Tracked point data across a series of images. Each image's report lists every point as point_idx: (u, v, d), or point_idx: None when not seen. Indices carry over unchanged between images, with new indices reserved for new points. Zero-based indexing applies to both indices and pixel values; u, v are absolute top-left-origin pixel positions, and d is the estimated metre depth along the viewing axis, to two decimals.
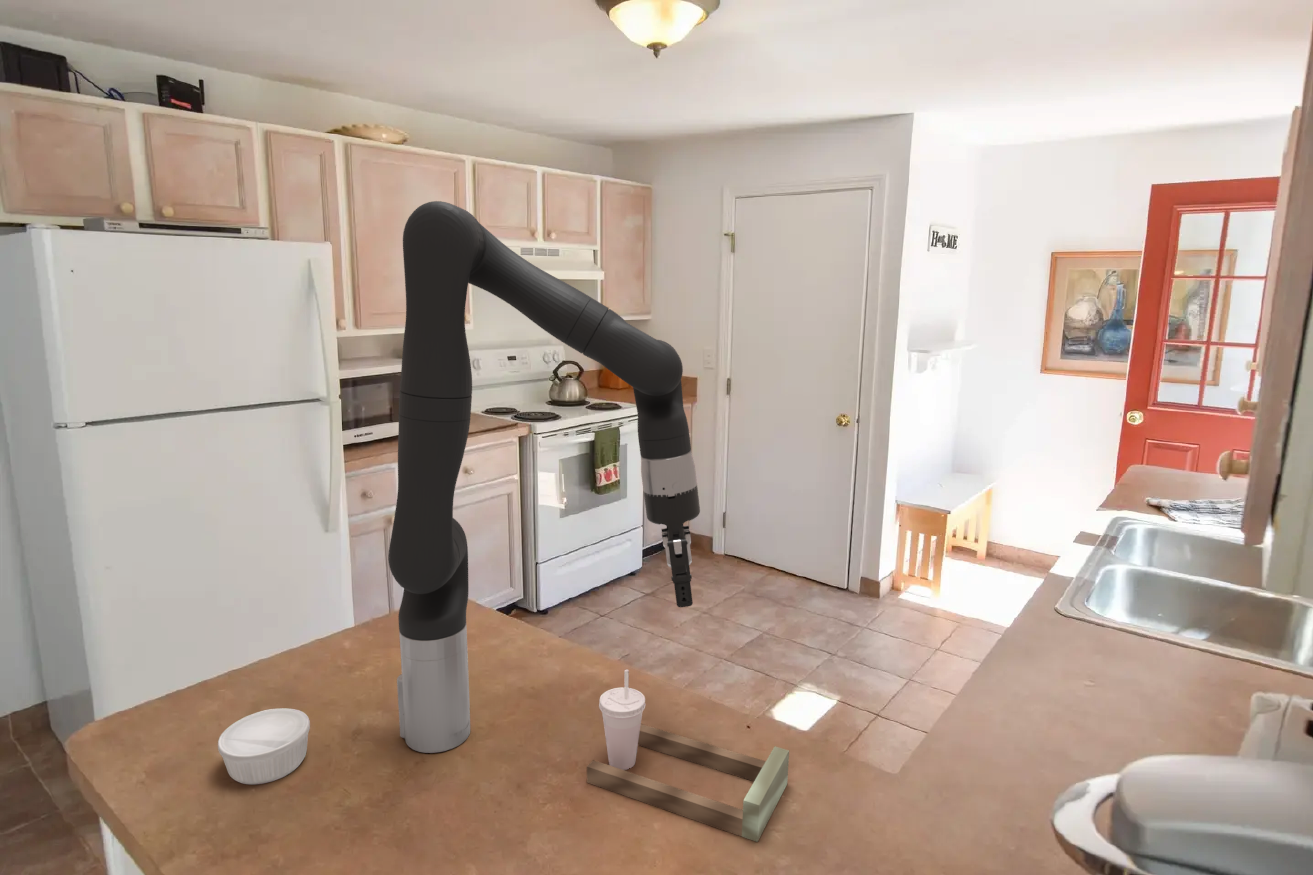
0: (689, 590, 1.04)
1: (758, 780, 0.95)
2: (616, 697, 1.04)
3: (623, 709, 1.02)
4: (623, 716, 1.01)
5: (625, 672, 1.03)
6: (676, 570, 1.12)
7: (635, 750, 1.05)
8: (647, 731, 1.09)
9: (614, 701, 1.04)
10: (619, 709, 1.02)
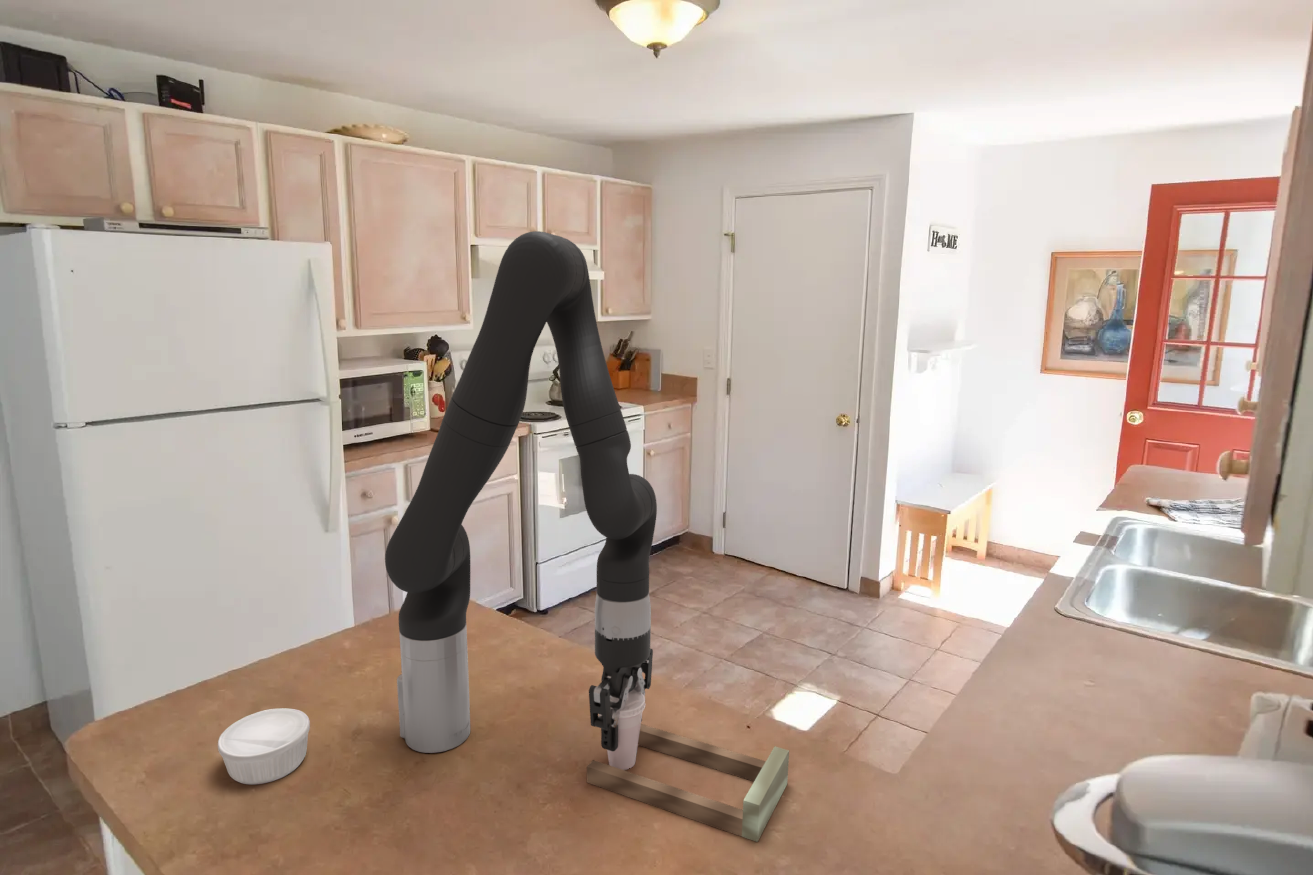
0: (614, 736, 1.01)
1: (758, 780, 0.95)
2: None
3: (623, 709, 1.02)
4: (623, 716, 1.01)
5: None
6: None
7: (635, 750, 1.05)
8: (647, 731, 1.09)
9: None
10: None
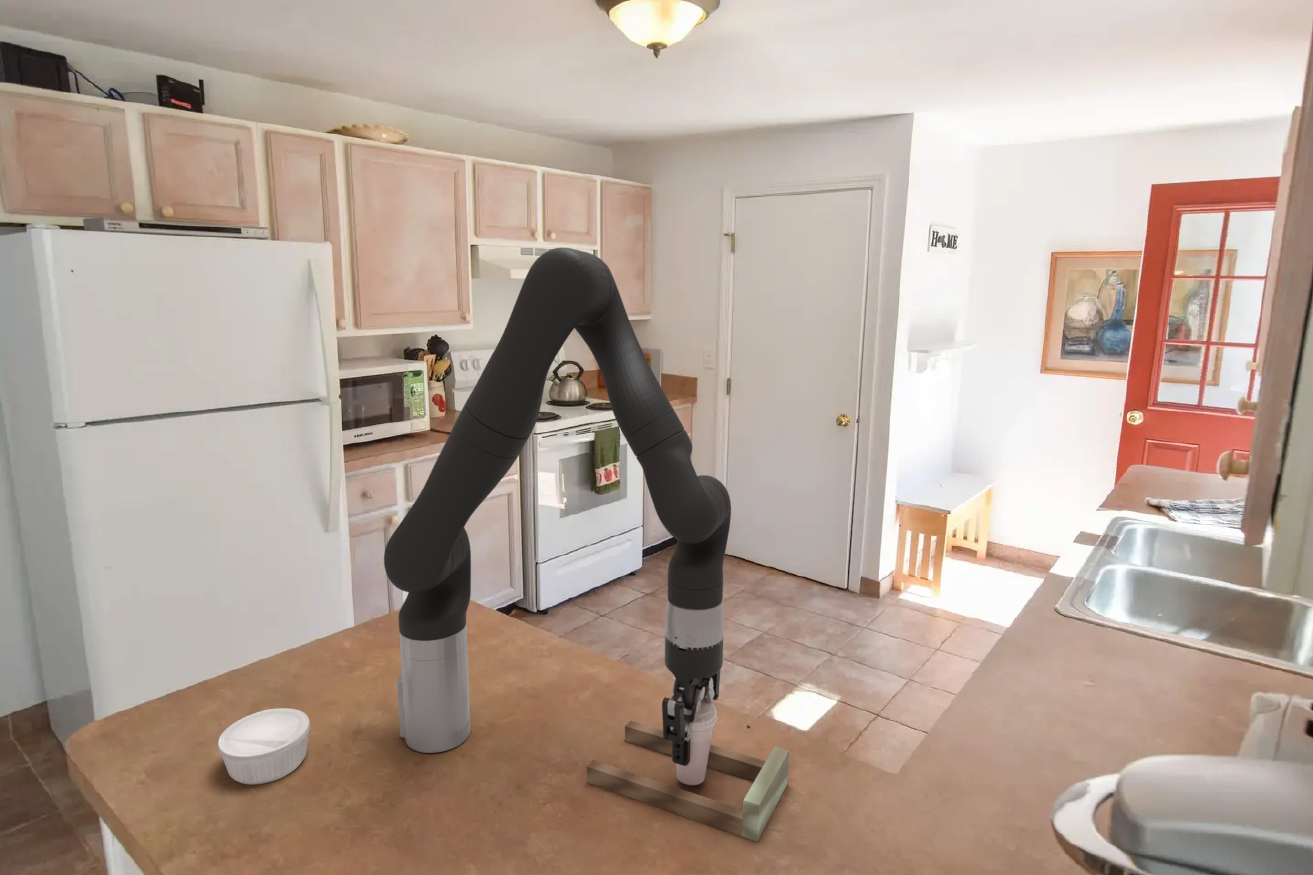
0: (686, 750, 0.97)
1: (758, 780, 0.95)
2: None
3: None
4: (696, 729, 0.97)
5: None
6: None
7: (706, 764, 1.00)
8: (647, 731, 1.09)
9: (684, 712, 0.99)
10: None
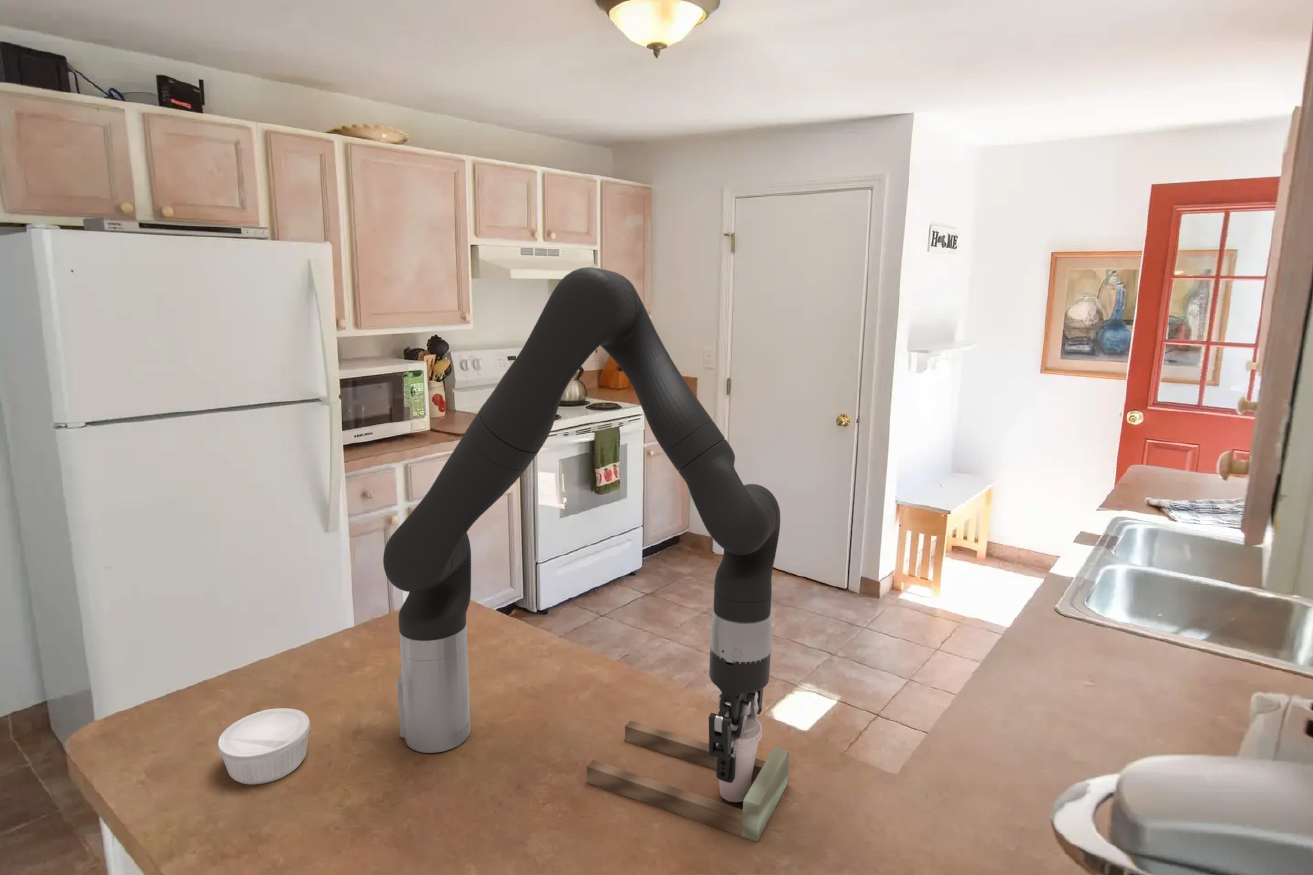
0: (731, 766, 0.94)
1: (758, 780, 0.95)
2: None
3: None
4: (741, 745, 0.94)
5: None
6: None
7: (750, 780, 0.97)
8: (647, 731, 1.09)
9: None
10: None
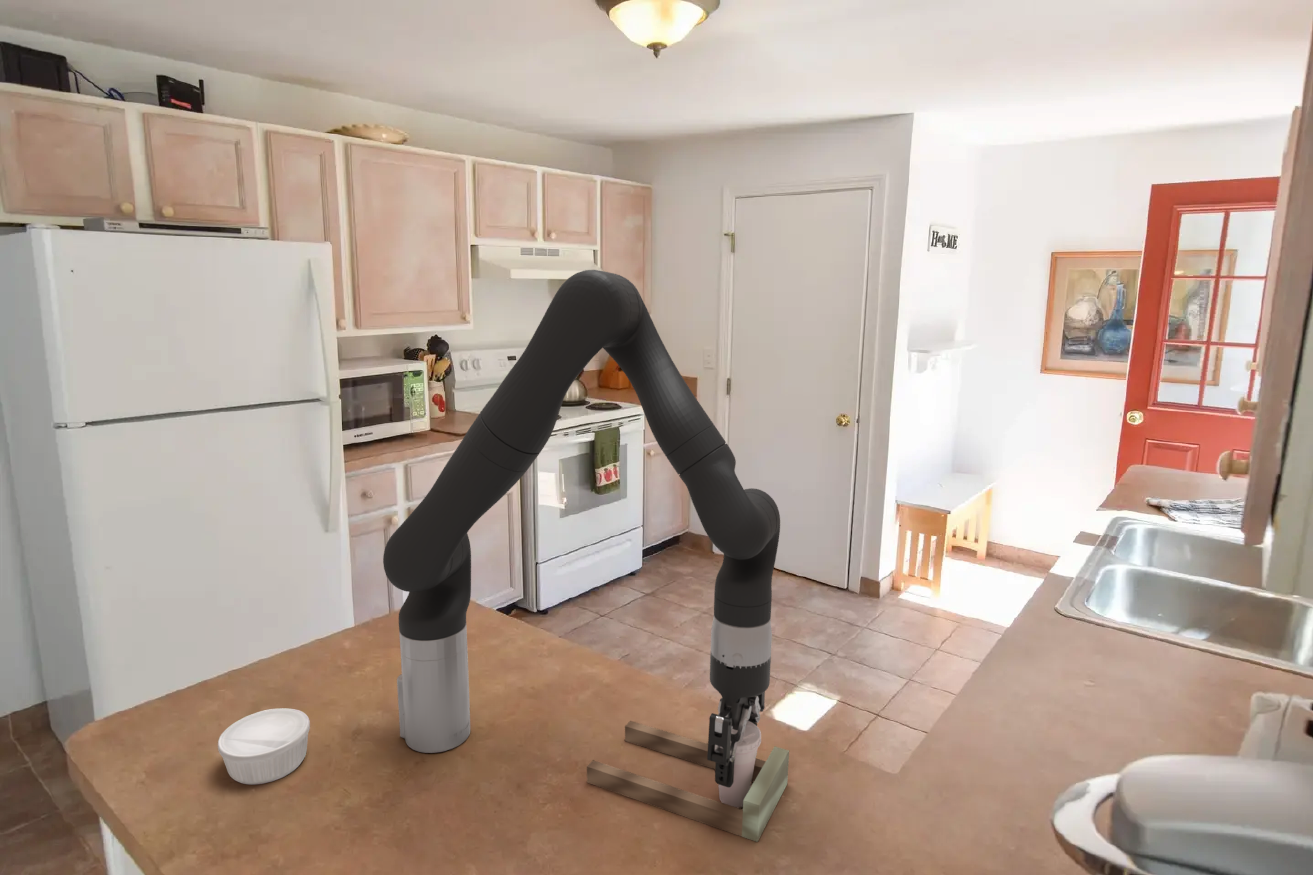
0: (730, 771, 0.93)
1: (758, 780, 0.95)
2: None
3: (740, 743, 0.95)
4: (741, 751, 0.94)
5: None
6: None
7: (749, 786, 0.98)
8: (647, 731, 1.09)
9: None
10: None
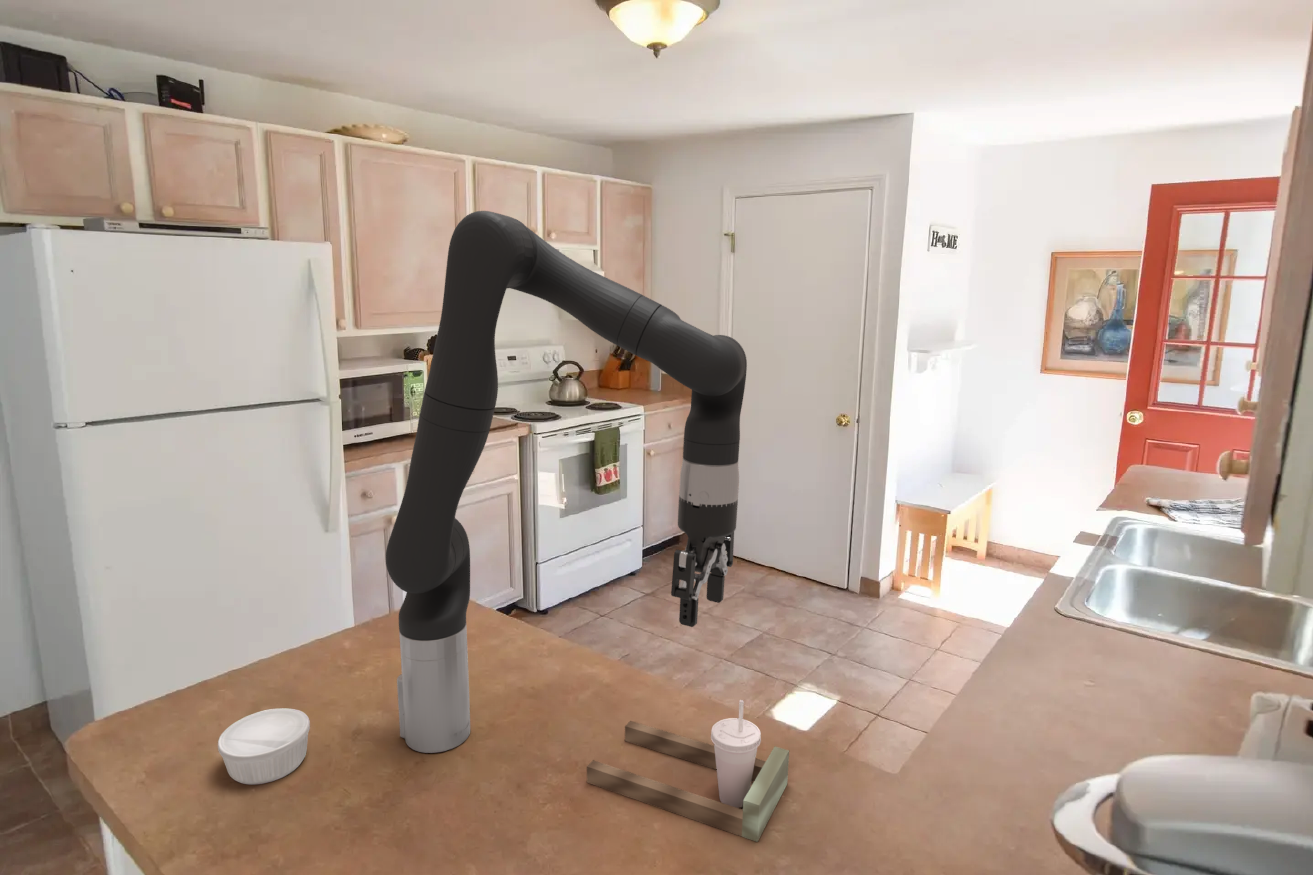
0: (693, 610, 0.95)
1: (758, 780, 0.95)
2: (729, 729, 0.97)
3: (740, 743, 0.95)
4: (740, 751, 0.94)
5: (740, 703, 0.96)
6: (710, 587, 1.03)
7: (749, 786, 0.98)
8: (647, 731, 1.09)
9: (727, 733, 0.96)
10: (736, 743, 0.95)
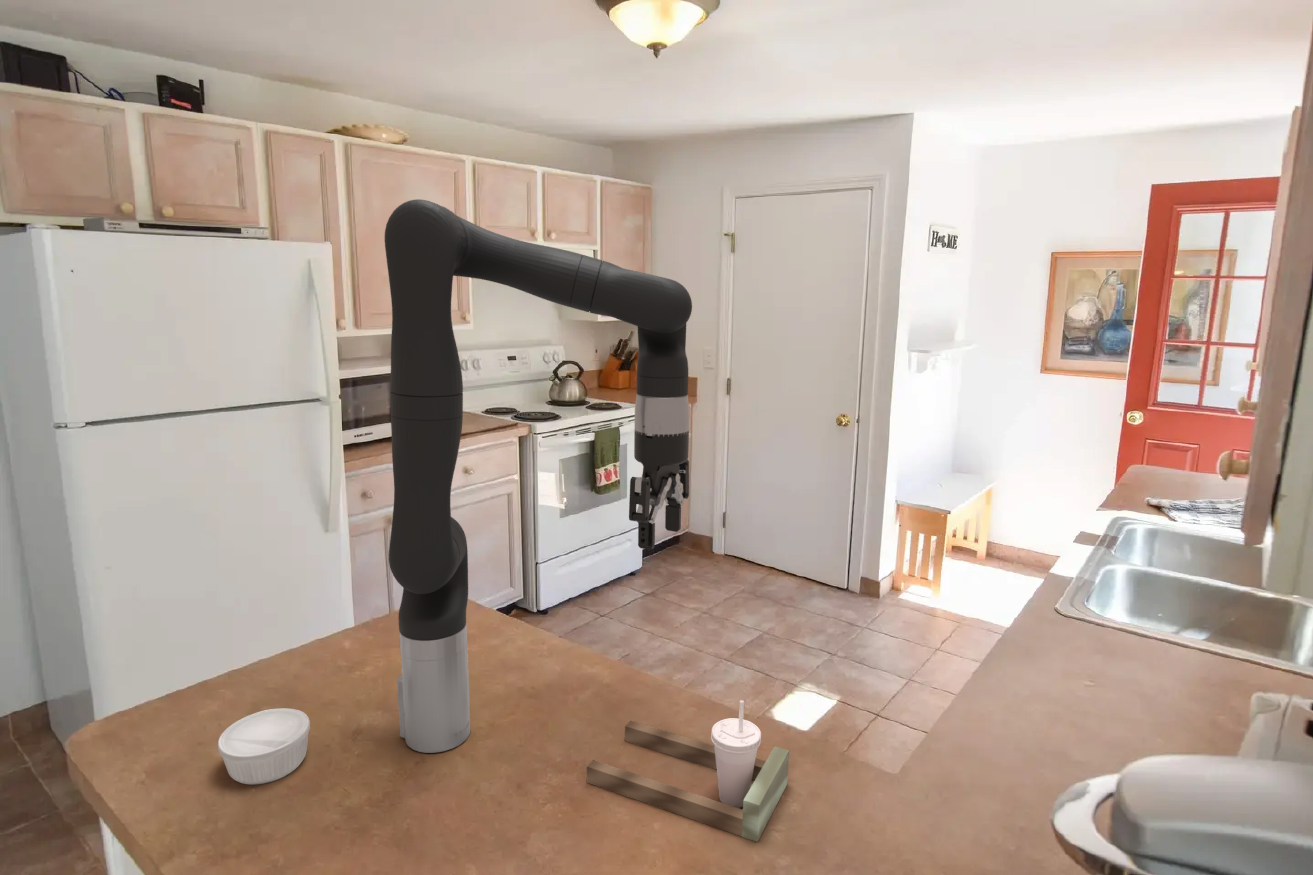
0: (651, 534, 1.03)
1: (758, 780, 0.95)
2: (729, 730, 0.97)
3: (740, 743, 0.95)
4: (741, 751, 0.94)
5: (740, 703, 0.96)
6: (668, 517, 1.11)
7: (749, 786, 0.98)
8: (647, 731, 1.09)
9: (727, 734, 0.96)
10: (736, 743, 0.95)
